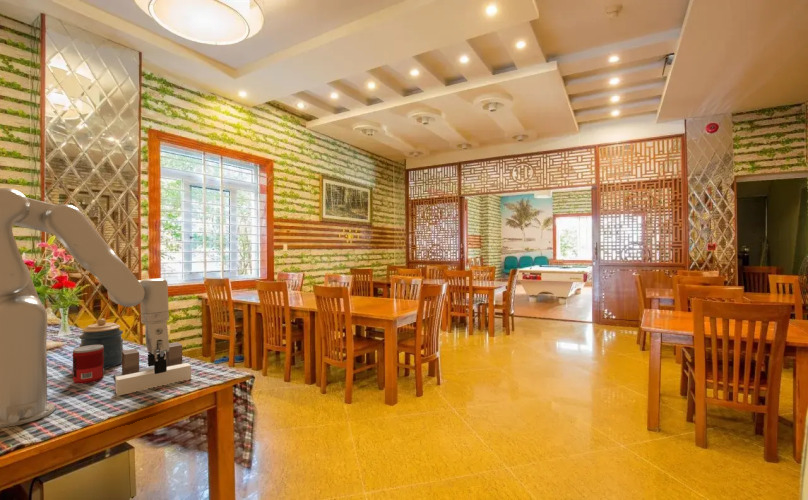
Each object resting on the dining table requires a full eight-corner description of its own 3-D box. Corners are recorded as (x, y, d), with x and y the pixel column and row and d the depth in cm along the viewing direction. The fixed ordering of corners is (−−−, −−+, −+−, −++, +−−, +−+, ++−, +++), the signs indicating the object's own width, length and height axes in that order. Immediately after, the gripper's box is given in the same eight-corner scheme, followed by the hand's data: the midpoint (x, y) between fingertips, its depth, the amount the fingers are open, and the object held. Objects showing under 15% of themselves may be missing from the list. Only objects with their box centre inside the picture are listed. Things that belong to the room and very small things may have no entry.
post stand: (190, 369, 136) (189, 345, 136) (118, 384, 122) (117, 357, 121) (182, 363, 143) (182, 340, 143) (113, 376, 129) (113, 350, 129)
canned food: (109, 377, 128) (109, 345, 128) (84, 385, 121) (83, 351, 121) (93, 375, 130) (92, 343, 130) (67, 383, 123) (66, 349, 123)
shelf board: (191, 380, 126) (191, 365, 126) (117, 396, 113) (117, 380, 113) (187, 377, 129) (187, 362, 129) (115, 392, 116) (115, 376, 115)
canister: (120, 357, 150) (120, 314, 150) (126, 365, 141) (125, 318, 141) (77, 365, 141) (77, 318, 141) (81, 373, 132) (80, 323, 132)
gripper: (175, 318, 117) (177, 372, 118) (162, 311, 130) (164, 360, 130) (146, 322, 112) (148, 379, 113) (136, 315, 124) (138, 365, 125)
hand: (157, 368), depth 121 cm, fingers open, 9 cm apart
